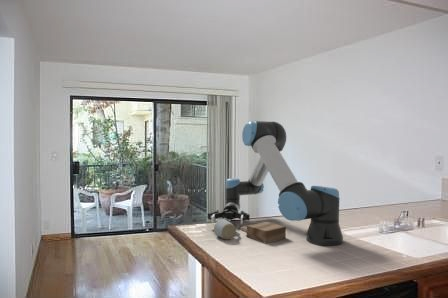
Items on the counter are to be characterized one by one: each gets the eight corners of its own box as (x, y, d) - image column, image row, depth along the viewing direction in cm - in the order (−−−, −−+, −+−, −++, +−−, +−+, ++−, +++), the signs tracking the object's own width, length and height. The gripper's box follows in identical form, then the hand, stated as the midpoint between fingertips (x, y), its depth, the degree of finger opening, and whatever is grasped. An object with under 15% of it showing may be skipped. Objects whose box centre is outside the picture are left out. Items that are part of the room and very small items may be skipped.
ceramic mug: (222, 241, 153) (222, 223, 153) (213, 236, 161) (213, 219, 160) (243, 238, 158) (243, 221, 158) (234, 234, 166) (234, 217, 165)
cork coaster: (262, 229, 173) (262, 228, 173) (249, 232, 167) (249, 231, 167) (250, 225, 180) (250, 224, 180) (236, 228, 174) (236, 227, 174)
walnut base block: (285, 238, 158) (285, 226, 158) (266, 243, 151) (266, 231, 151) (266, 232, 168) (266, 221, 168) (246, 236, 160) (246, 225, 160)
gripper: (255, 218, 186) (253, 229, 165) (207, 217, 189) (200, 227, 168) (255, 204, 186) (254, 213, 165) (207, 203, 189) (200, 211, 168)
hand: (226, 220), depth 166 cm, fingers open, 13 cm apart
